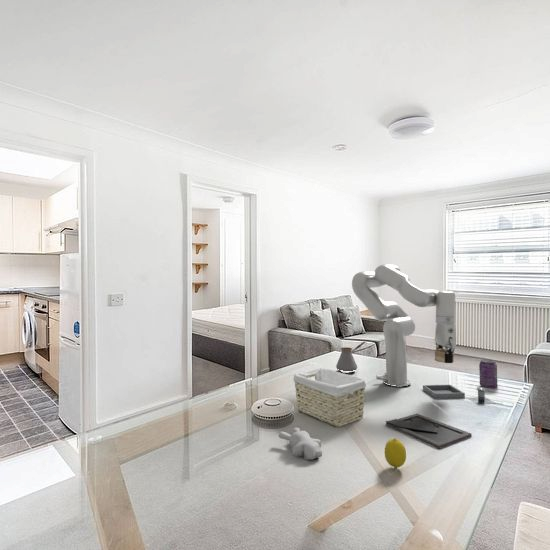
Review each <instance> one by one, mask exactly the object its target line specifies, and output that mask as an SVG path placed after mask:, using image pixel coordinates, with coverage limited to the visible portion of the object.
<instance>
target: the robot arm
mask: <svg viewBox="0 0 550 550" xmlns="http://www.w3.org/2000/svg"><path fill="white" fill-rule="evenodd" d="M351 280H352V281H351V288H352V290H353V293H354V295H355V296H356V297H357V298H358V299H359V300H360V302H361V303H362V304H363V305H364V306H365V307H366V309H367V310H368V311H369V312H370V313H371V315H372V316H373V317H374V318H375V319H376V320H377V321H380V322H384V321H385V322H384V324H383V327H382V328H383V329H382V331H383V337H384V343H385V345H384V346H385V369H386V370H385V372H384V374H382V375H376V376H375V377H376V378H375V379H376V380H379V381H382V383H383V382H385V383H387V384H390V385H396V386H407V385H410V386H411V383H412V382H411V381H410V380H408V367H407V366H408V365H407V360H408V359H407V358H408V357H407V344H406V341H405V337H408V336H411V335H412V334H414V332H415V331H416V323H415V321H414V320H413V319H412V318H411V316H410V315H409V314H408V313H407V312H406V310H404V309H403V307H401V306H400V304H398V303H397V302H395V301H392V300H389V301H388V300H387V301H386V300H383V298H381V296H380V295H379V294H378V293H377V292H375V291H374V290H373V289H371V288H379V287H382V286H386V285H387V286H388V287H390V288H392V289H393V290H395V291H397V292H398V294H399V295H400V296H401V298H403V300H406V301H408V302H409V303H411V304H412V305H414V306H416V307H418V308H419V307H420V308H427V307H428V308H429V307H435V335H434V341H435V342H434V343H435V345H436V346H435V350H436V349H445V351H446V353H445V363H444V364H453V363H454V362H453V353H454V354H455V349H456V347H457V332H456V331H457V330H456V326H455V325H456V319H455V318H456V293H455V292H454V291H450V290H449V291H447V290H437V289H420V288H419V287H417V286H415V285H413V284H412V283H411V282H410V278H409V276H408V275H407V274H405V273H402V272H401V269H400V267H398V266H397V265H395V264H380V265H378V266H377V267H375V269H374V271H359V272H357V273H356V274H354V275H353V277H352V279H351ZM448 349H449V350H448ZM407 387H408V386H407Z"/></svg>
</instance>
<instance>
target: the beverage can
mask: <svg viewBox="0 0 550 550" xmlns="http://www.w3.org/2000/svg"><path fill="white" fill-rule="evenodd" d="M479 361H480V362H479V367H478V369H479V370H478V371H479V385H480V387H482V388H488V389H489V388H492V389H494V388H498V365H497V362H496V360H493V359H487V358H486V359H480V360H479Z"/></svg>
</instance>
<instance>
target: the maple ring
mask: <svg viewBox="0 0 550 550" xmlns="http://www.w3.org/2000/svg"><path fill="white" fill-rule="evenodd" d="M448 350H449V348H448ZM445 353H446V351H445V348H443V349H436V348H435V349H434V361H436V362H438V363H443V364H446V363H445ZM454 362H455V352H454V353H453V363H454Z"/></svg>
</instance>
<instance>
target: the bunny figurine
mask: <svg viewBox="0 0 550 550" xmlns="http://www.w3.org/2000/svg"><path fill="white" fill-rule="evenodd" d="M292 431H293V433H291V434H290V433H288V432H285V431H279V433H278V438H279V439H283V440H286V441H288V443H289V446H290V449H291V451H292V455H293V456H303V459H304V460H305V461H309V460H314V459H316V458H321V457H322V456H323V451H322V450H321V446H322V440H320V439H319V438H312V437H311V436H310V434H309V432H307V431H306V430H301V429H300V428H299V427H294V428H293V429H292Z"/></svg>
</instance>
